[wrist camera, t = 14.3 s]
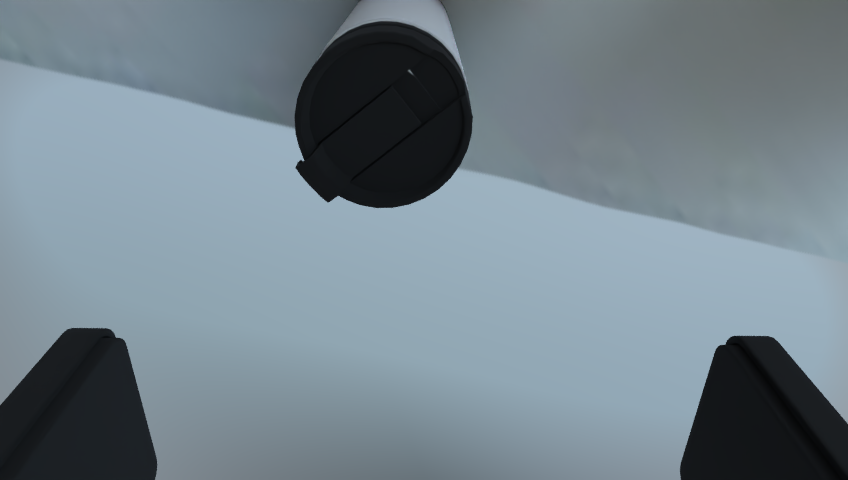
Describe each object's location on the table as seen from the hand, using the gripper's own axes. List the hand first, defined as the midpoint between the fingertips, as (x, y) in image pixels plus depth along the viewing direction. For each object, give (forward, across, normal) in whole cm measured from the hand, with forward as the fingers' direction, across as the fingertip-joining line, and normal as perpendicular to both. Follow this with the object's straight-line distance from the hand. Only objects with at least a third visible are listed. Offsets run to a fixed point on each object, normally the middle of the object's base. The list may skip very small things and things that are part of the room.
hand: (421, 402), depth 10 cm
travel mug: (+32, +1, 0) cm, 33 cm away
